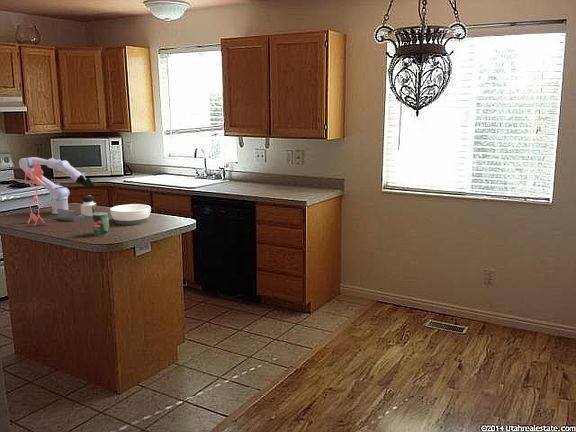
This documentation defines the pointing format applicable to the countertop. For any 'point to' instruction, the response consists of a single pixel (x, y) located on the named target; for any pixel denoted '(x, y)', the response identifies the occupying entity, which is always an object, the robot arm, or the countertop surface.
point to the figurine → (37, 177)
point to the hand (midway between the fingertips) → (91, 186)
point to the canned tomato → (101, 223)
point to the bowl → (130, 214)
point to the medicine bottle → (88, 206)
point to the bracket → (69, 215)
